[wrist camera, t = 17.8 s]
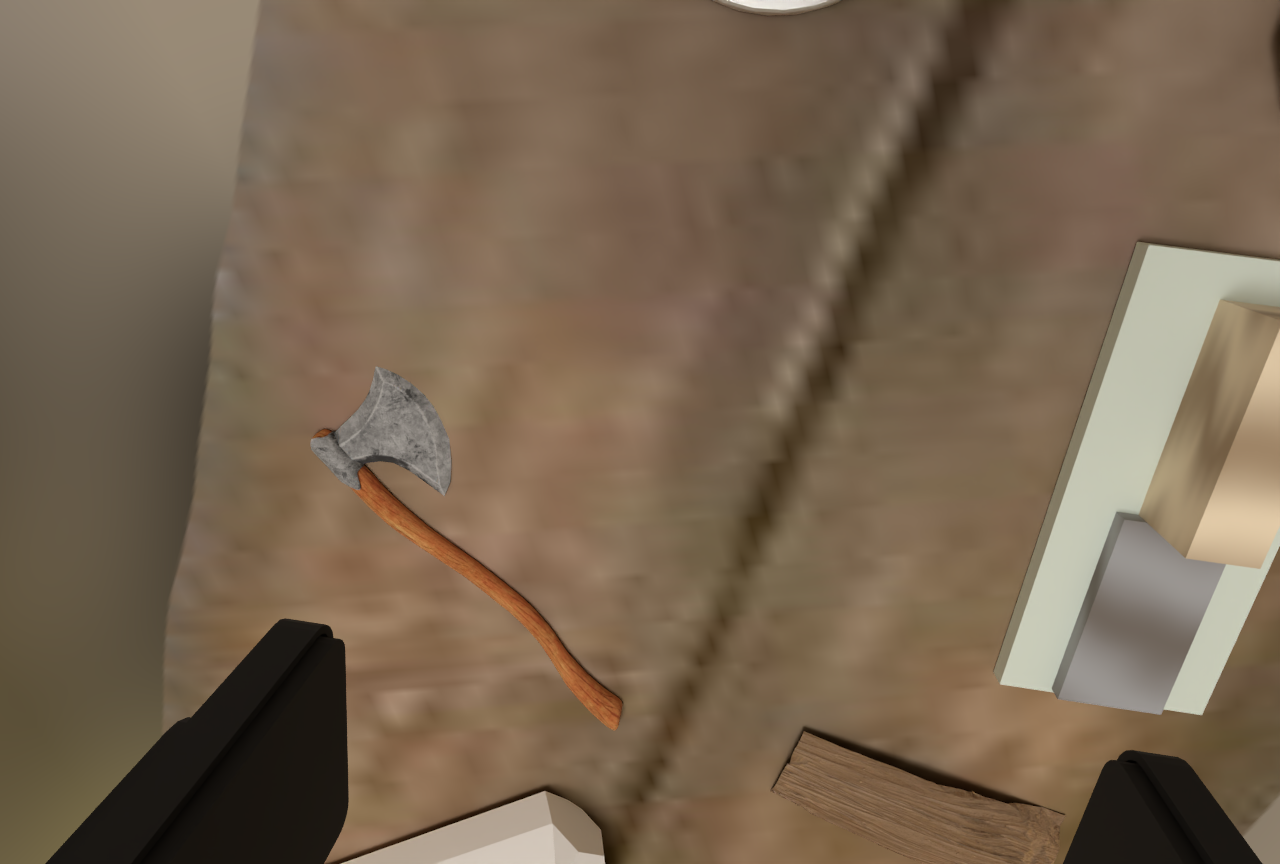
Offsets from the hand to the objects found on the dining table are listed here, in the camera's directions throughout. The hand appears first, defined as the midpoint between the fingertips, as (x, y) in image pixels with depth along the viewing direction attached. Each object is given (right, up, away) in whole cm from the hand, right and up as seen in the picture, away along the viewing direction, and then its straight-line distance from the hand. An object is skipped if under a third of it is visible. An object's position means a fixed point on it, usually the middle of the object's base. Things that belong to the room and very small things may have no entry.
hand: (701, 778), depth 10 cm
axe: (-8, -2, +33) cm, 34 cm away
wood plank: (+15, -14, +34) cm, 40 cm away
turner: (+24, 0, +27) cm, 36 cm away
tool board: (+24, +1, +28) cm, 36 cm away
